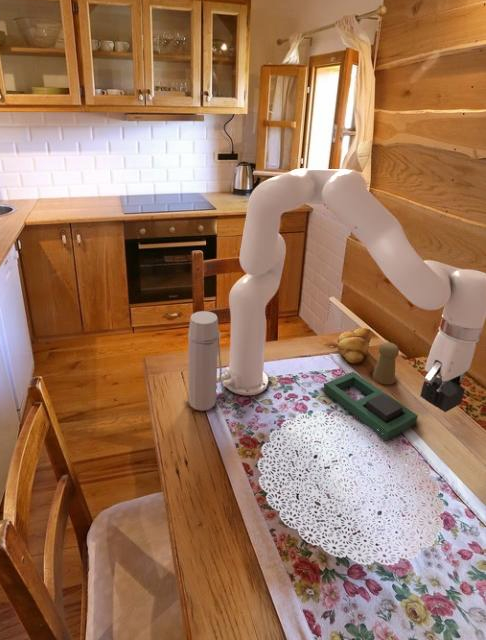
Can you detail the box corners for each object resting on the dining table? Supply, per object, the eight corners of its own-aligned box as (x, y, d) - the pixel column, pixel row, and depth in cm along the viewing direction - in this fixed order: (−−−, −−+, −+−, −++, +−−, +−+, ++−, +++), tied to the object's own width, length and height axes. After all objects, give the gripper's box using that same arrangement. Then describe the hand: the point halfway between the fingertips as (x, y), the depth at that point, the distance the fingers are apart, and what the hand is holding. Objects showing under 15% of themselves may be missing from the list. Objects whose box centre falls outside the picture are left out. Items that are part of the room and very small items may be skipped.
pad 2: (445, 412, 87) (449, 397, 86) (420, 396, 92) (423, 381, 91) (461, 403, 90) (465, 388, 89) (435, 388, 95) (439, 373, 94)
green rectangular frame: (386, 440, 95) (388, 432, 94) (323, 391, 111) (324, 383, 110) (416, 423, 100) (418, 415, 99) (352, 378, 116) (353, 371, 116)
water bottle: (197, 417, 100) (198, 328, 92) (182, 399, 106) (182, 314, 98) (228, 404, 105) (231, 318, 97) (212, 387, 111) (214, 305, 103)
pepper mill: (391, 372, 120) (397, 339, 116) (397, 385, 114) (404, 351, 110) (370, 370, 120) (375, 338, 117) (375, 383, 115) (381, 349, 111)
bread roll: (365, 369, 121) (369, 346, 118) (331, 361, 125) (335, 338, 122) (369, 348, 132) (373, 326, 129) (338, 341, 136) (341, 320, 133)
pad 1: (384, 429, 98) (386, 415, 97) (364, 414, 103) (366, 401, 101) (399, 420, 101) (402, 407, 100) (379, 406, 106) (382, 393, 104)
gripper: (465, 311, 92) (447, 377, 98) (418, 329, 84) (401, 400, 90) (500, 326, 86) (478, 396, 92) (453, 347, 78) (433, 422, 84)
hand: (440, 397), depth 91 cm, fingers closed on pad 2, 6 cm apart
